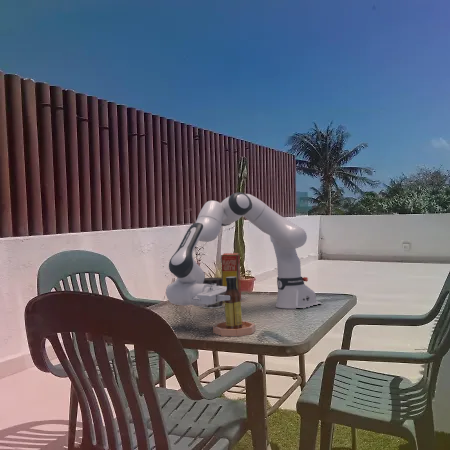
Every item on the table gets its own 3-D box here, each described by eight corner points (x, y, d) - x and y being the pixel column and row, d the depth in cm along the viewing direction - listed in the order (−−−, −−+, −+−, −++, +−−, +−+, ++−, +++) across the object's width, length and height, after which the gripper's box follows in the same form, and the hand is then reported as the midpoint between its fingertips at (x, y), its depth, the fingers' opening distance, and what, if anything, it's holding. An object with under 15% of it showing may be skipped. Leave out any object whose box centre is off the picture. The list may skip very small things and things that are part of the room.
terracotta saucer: (241, 325, 194) (241, 319, 194) (261, 332, 181) (261, 325, 181) (208, 330, 187) (207, 324, 187) (226, 338, 174) (226, 331, 174)
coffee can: (225, 307, 237) (224, 278, 237) (204, 309, 234) (203, 280, 234) (220, 304, 247) (218, 276, 247) (200, 306, 244) (199, 278, 244)
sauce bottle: (241, 327, 187) (240, 275, 188) (242, 330, 181) (241, 277, 181) (224, 327, 187) (223, 276, 187) (225, 331, 181) (224, 277, 181)
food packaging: (239, 303, 249) (237, 254, 249) (221, 303, 250) (219, 255, 250) (241, 298, 262) (240, 252, 262) (224, 299, 263) (222, 253, 263)
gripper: (189, 290, 181) (222, 292, 174) (214, 283, 199) (245, 284, 193) (189, 307, 181) (222, 309, 174) (215, 298, 199) (246, 300, 193)
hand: (234, 296), depth 184 cm, fingers closed on sauce bottle, 6 cm apart
